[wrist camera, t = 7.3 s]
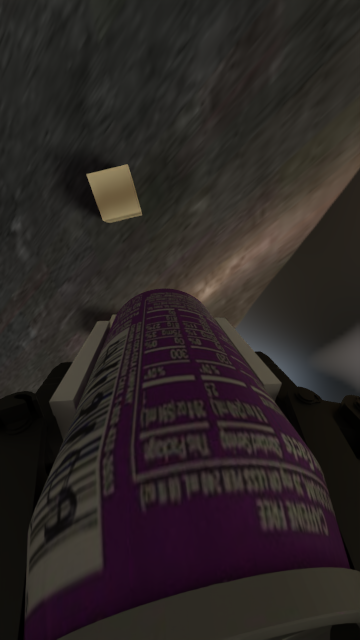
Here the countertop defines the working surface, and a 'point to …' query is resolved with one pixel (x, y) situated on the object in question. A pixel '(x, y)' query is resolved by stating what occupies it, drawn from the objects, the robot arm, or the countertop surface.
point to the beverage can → (183, 499)
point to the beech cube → (115, 193)
